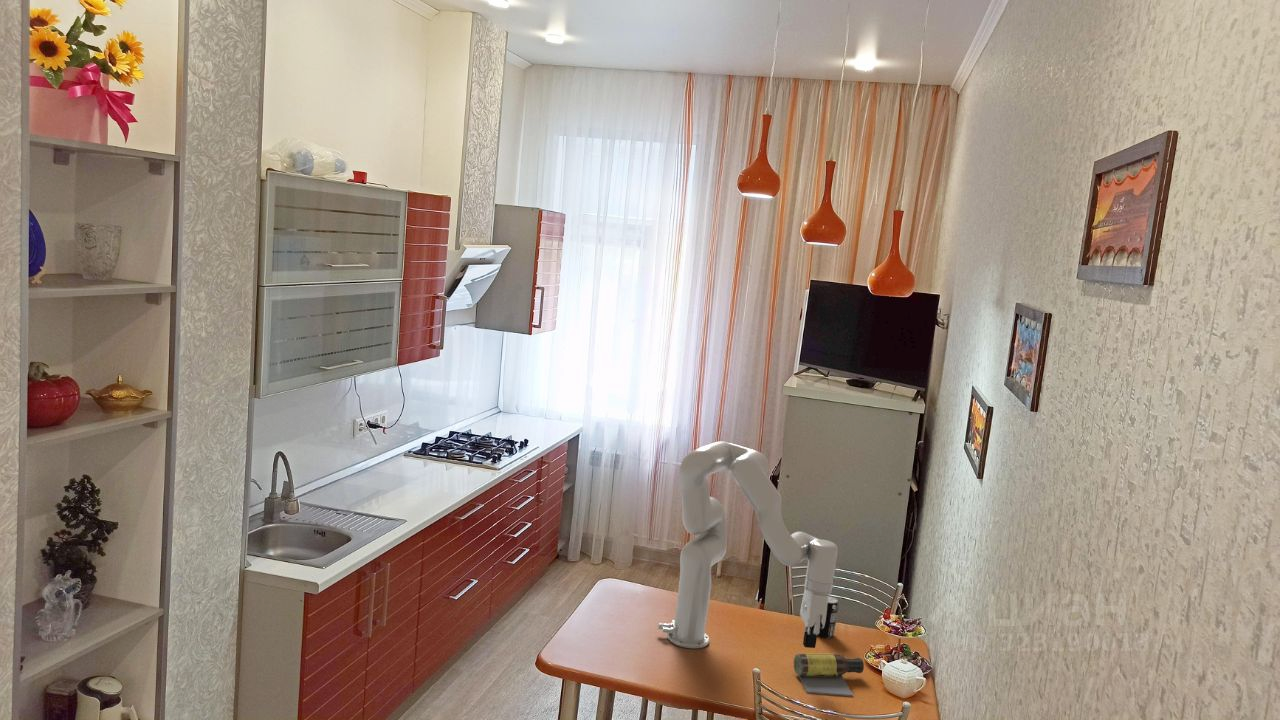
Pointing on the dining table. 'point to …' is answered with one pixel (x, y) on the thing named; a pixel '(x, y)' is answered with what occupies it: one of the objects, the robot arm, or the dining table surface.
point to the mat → (826, 685)
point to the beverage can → (830, 618)
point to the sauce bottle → (826, 665)
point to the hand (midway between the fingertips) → (808, 646)
